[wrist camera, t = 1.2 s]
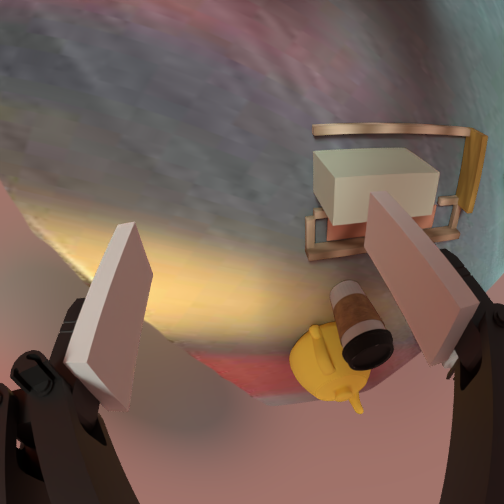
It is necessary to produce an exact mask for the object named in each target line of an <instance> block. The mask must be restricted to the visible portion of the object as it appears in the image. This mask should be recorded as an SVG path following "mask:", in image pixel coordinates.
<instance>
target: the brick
mask: <svg viewBox="0 0 504 504" xmlns="http://www.w3.org/2000/svg"><path fill="white" fill-rule="evenodd" d="M439 174H440V172H439V171H437V170H436V169H435V168H433V167H432V166H430V165H429V164H428V163H426V162H425V161H424V160H422V159H421V158H419V157H418V156H417V155H415V154H414V153H412V152H411V151H409V150H408V149H406V148H363V149H340V150H323V151H313V192H314V194H315V196H316V197H317V199H318V201H319V202H320V204H321V206H322V208H323V209H324V211H325V213H326V215H327V216H328V218H329V220H330V222H331V223H332V225H333V226H336V225H344V224H353V223H362V222H367V217H368V208H369V198H370V192H376V191H387V192H388V193H389V194H390V195H391V196H392V197H393V198H394V199H395V200H396V201H397V202H398V204H399V205H400V206H401V207H402V208H403V209H404V210H405V211H406V212H407V213H408V214H409V215H410V216H411V217H416V216H426V215H432V211H433V206H434V201H435V196H436V191H437V186H438V180H439Z"/></svg>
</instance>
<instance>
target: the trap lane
mask: <svg viewBox="0 0 504 504" xmlns="http://www.w3.org/2000/svg"><path fill="white" fill-rule="evenodd" d="M365 133H411V134H440V135H457V136H466V139H465V146H464V153H463V159H462V165H461V171H460V176H459V181H458V186H457V191H456V195H453V196H439V197H438V202H437V203H438V204H439V205H440V206H444V205H453V209H452V213H451V217H450V221H449V225H448V226H444V227H437V228H431V227H432V224H433V220H434V215H435V210H436V206H437V205H434V206H433V211H432V215H426V216H416V217H411V218H412V219H413V220H414V221H415V222H416V223H417V224H418V225H419V227H420V228H421V229H422V230H423V231H424V232H425V233H426V235H427V236H428V237H429V238H430V239H431V240H432V242H433V243H434V242H441V241H447V240H453V239H459V236H460V232H459V231H458V230H457V229H456V226H457V223H458V219H459V215H460V211H461V208H462V209H463V210H464V211H465V212H466V213H472V211H473V207H474V204H475V200H476V195H477V191H478V187H479V182H480V178H481V173H482V168H483V163H484V157H485V151H486V145H487V139H488V136H487V135H485V134H483V133H481V132H479V131H477V130H475V129H473V128H469V127H458V126H446V125H431V124H410V123H337V124H315V125H312V134H313V135H314V136H317V135H335V134H365ZM320 218H328V216H327V215H326V213H325V211H324V209H323V208H322V207H320V208H313V216H305V252H306V255H307V257H308V260H309V261H313V260H320V259H327V258H334V257H341V256H348V255H355V254H362V253H367V251H366V249H365V248H364V242H365V237H362V236H365V234H366V226H367V222H362V223H353V224H344V225H336V226H333V225H332V223H331V222H330V220H329V218H328V222H327V241H330V242H323V243H315V219H320ZM424 228H429V229H424ZM355 237H361V238H355ZM347 238H353V239H347ZM340 239H346V240H340ZM332 240H338V241H332Z"/></svg>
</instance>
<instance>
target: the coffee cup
mask: <svg viewBox="0 0 504 504" xmlns="http://www.w3.org/2000/svg"><path fill="white" fill-rule="evenodd" d="M330 300H331V304H332V308H333V312H334V317H335V321H336V325H337V330H338V334H339V339H340V343H341V346H342V347H343V351H342V356H343V358H344V360H345V361H346V362H347V363H348V365H349V367H350V368H351V369H353V370H356V371H365V370H370V369H373V368H375V367H378V366H380V365H381V364H383V363H384V362H386V361H387V360H388V359H389V358H390V357H391V355H392V353H393V350H394V347H393V338H392V335H391V333H390V332H389V331H388V330H386V329H385V325H384V323H383V321H382V320H381V318H380V316H379V315H378V313H377V312H376V310H375V308H374V307H373V305H372V304H371V302H370V301H369V299H368V298H367V296H366V295H365V293H364V291H363V290H362V288H361V287H360V285H359V284H358V283H357V282H356V281H352V280H347V281H343V282H341V283H339V284H337V285H336V286H335V287H334V288H333V289H332V290H331V292H330Z"/></svg>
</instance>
